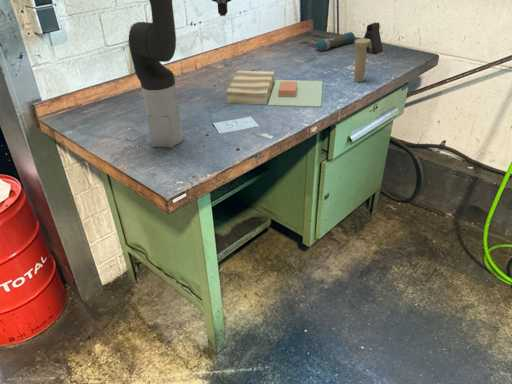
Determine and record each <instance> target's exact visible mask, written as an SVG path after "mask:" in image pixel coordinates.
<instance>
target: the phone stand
mask: <svg viewBox="0 0 512 384" xmlns="http://www.w3.org/2000/svg"><path fill="white" fill-rule="evenodd" d="M380 25H381V24H380V22H377V21H375V22H372V23H370V24H368V25H367V26H366V31H365V35H364V36H363V38H366V39H370V40H371V41H370V45H371V47H370V45H369V46H368V47H367V50H366V54H371V55H377V54H380V53H383V45H382V39H381V32H380Z"/></svg>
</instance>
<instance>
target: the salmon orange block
mask: <svg viewBox="0 0 512 384" xmlns="http://www.w3.org/2000/svg"><path fill="white" fill-rule="evenodd" d="M296 90H297V82H287V81H281V82H280V86H279V90H278V97H296Z"/></svg>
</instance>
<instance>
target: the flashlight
mask: <svg viewBox="0 0 512 384" xmlns="http://www.w3.org/2000/svg"><path fill="white" fill-rule="evenodd" d="M355 39H356V38H355V34H354V32H351V31H350V32H346V33H344V34H342V35H341V34H340V35H339V36H334V37H332V38H324V39H320V40H318V42H317V43H316V49H317V50H318V51H320V52H324V51H327V50H329V49H331V48H335V47H339V46H342V45H349V44H352V43H355Z"/></svg>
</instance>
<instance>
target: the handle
mask: <svg viewBox="0 0 512 384" xmlns="http://www.w3.org/2000/svg"><path fill="white" fill-rule="evenodd" d="M370 41H371V40H370V39H366V38H364V37H363V38H358V39H356V40H354V46H355V47H357V49H356V54H355V55H356V56H355V61H354V71H353V72H354V74H353V77H354V82H356V83H363V81H364V77H365V74H366V73H365V72H366V62H367V53H366V50H367V47H368V46H369V47H370V45H371V43H370Z"/></svg>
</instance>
